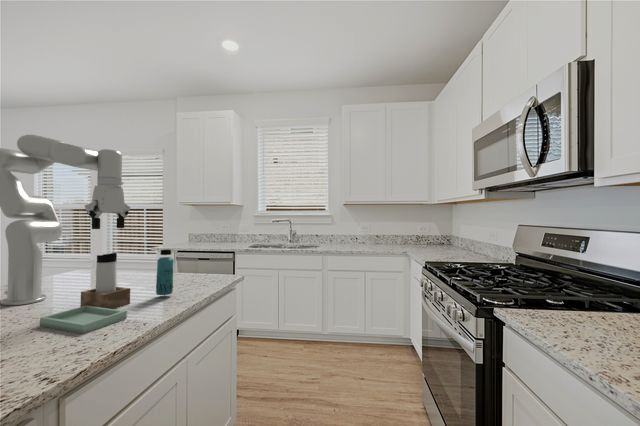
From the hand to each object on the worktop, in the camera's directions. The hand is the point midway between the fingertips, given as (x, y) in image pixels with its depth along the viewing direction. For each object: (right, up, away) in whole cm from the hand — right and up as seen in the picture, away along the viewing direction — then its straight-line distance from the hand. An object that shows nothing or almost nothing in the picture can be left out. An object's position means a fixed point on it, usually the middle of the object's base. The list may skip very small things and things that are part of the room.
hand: (108, 228), depth 115 cm
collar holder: (-1, -29, 0) cm, 29 cm away
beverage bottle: (+14, -30, +14) cm, 36 cm away
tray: (+5, -29, -17) cm, 34 cm away
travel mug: (-1, -29, 0) cm, 29 cm away
